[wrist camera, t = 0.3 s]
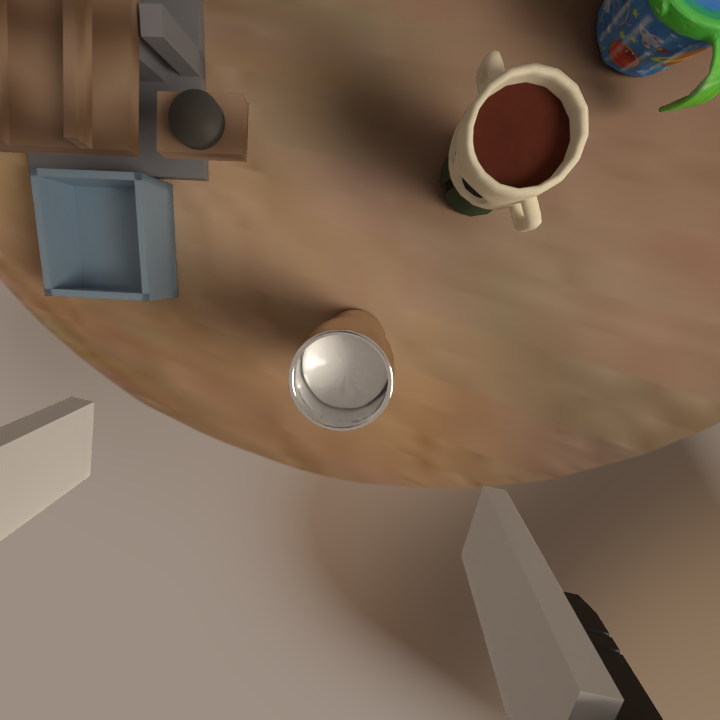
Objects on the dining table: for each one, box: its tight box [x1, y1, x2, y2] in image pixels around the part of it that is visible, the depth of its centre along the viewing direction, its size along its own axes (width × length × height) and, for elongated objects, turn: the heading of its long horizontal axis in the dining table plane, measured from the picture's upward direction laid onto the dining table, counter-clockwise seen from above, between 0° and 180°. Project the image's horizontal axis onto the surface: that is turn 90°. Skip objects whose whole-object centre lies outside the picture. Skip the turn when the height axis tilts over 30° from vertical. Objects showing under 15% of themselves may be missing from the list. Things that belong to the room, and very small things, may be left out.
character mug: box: [440, 50, 588, 232], centre depth 30 cm, size 11×7×13 cm, turn 19°
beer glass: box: [288, 309, 395, 431], centre depth 32 cm, size 7×7×15 cm
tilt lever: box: [0, 0, 248, 162], centre depth 28 cm, size 18×20×6 cm
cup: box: [29, 168, 178, 301], centre depth 36 cm, size 10×9×5 cm
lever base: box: [27, 0, 209, 181], centre depth 32 cm, size 18×16×7 cm
